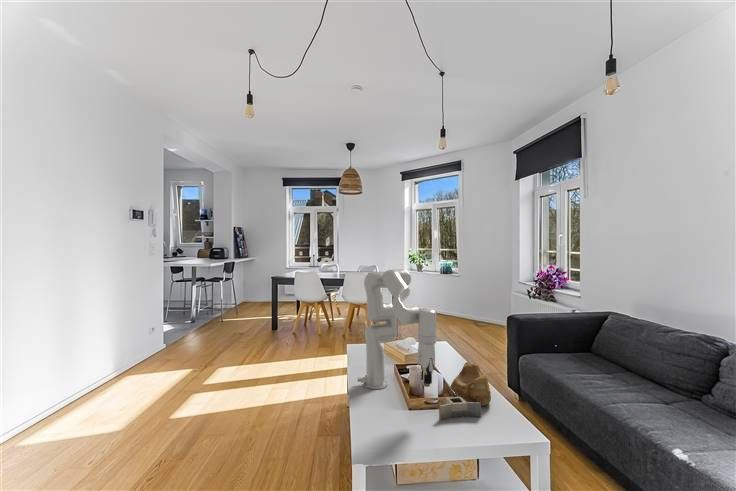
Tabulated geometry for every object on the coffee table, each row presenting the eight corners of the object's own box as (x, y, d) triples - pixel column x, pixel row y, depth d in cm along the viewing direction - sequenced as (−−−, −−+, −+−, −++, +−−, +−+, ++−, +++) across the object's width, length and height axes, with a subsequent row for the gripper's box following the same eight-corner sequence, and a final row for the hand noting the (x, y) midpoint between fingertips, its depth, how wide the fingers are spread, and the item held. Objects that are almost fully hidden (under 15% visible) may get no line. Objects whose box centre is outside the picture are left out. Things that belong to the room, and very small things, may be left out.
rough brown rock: (446, 390, 195) (444, 362, 195) (478, 387, 196) (476, 359, 195) (458, 412, 172) (455, 379, 172) (494, 408, 173) (492, 376, 172)
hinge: (439, 420, 160) (439, 406, 160) (433, 412, 169) (433, 398, 169) (481, 417, 164) (481, 403, 164) (472, 409, 172) (472, 395, 172)
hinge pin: (424, 386, 161) (424, 365, 161) (421, 384, 164) (422, 363, 164) (430, 386, 162) (431, 365, 161) (428, 383, 164) (428, 363, 164)
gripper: (412, 334, 170) (412, 375, 170) (424, 344, 154) (424, 389, 154) (429, 333, 171) (428, 374, 171) (442, 343, 155) (441, 388, 155)
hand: (426, 381), depth 163 cm, fingers closed on hinge pin, 3 cm apart
